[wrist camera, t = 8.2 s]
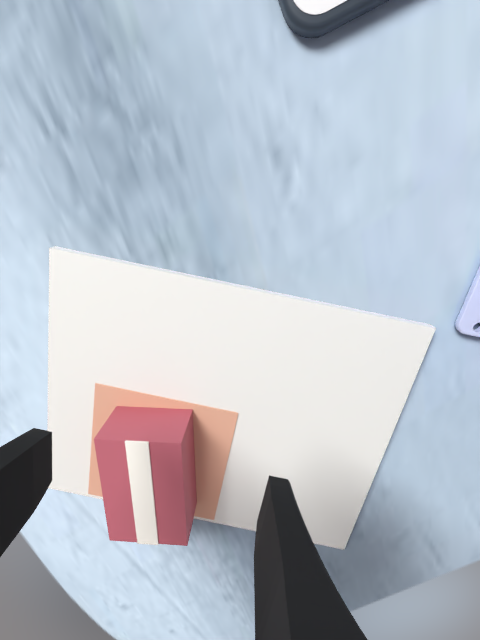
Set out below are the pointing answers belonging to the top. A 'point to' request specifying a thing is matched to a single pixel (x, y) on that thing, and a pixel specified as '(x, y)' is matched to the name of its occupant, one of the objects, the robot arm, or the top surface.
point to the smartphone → (323, 14)
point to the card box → (148, 474)
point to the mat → (228, 384)
